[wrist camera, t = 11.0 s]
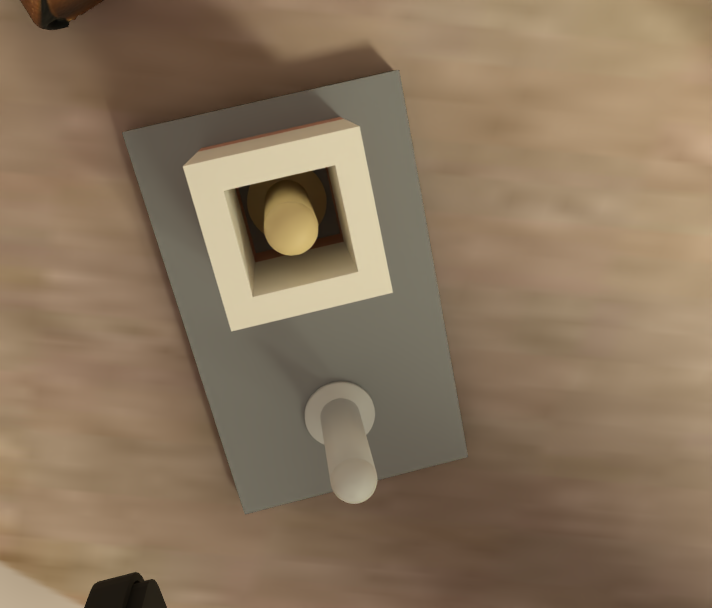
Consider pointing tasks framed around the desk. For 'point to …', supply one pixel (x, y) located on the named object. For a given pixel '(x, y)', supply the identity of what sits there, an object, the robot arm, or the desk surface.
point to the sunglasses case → (56, 11)
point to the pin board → (316, 329)
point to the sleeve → (270, 268)
